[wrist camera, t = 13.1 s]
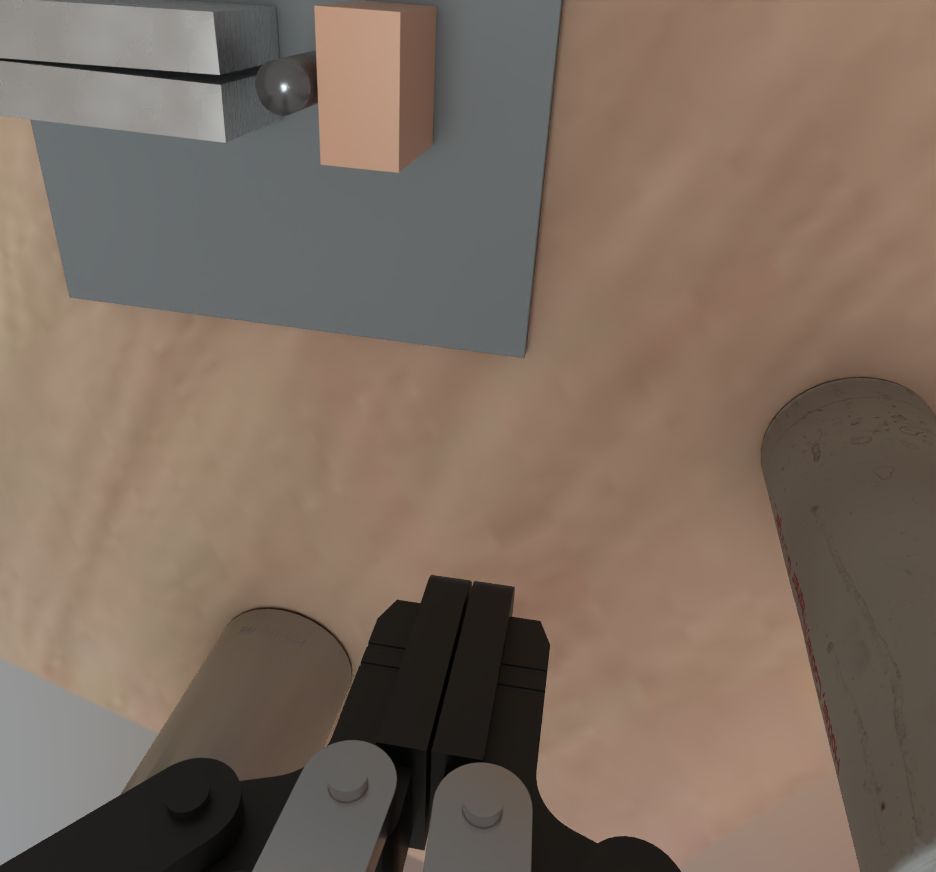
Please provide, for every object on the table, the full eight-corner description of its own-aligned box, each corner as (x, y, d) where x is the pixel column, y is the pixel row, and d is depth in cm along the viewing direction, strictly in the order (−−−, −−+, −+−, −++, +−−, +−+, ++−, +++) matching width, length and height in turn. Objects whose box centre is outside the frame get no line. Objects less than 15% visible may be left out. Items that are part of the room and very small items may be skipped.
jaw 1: (275, 6, 32) (213, 11, 27) (279, 60, 33) (219, 74, 28) (-1, -12, 33) (-105, -9, 29) (11, 40, 34) (-87, 51, 30)
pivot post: (358, 47, 32) (302, 61, 27) (358, 94, 33) (305, 118, 28) (316, 43, 32) (253, 57, 27) (318, 91, 33) (257, 113, 28)
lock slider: (436, 6, 31) (400, 12, 26) (432, 144, 33) (398, 172, 29) (363, 0, 31) (314, 5, 26) (364, 138, 34) (320, 164, 29)
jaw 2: (280, 69, 33) (221, 84, 28) (282, 119, 34) (225, 142, 29) (11, 40, 34) (-87, 51, 30) (21, 89, 35) (-72, 107, 31)
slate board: (526, 351, 38) (524, 358, 38) (79, 292, 41) (69, 297, 41) (579, -157, 28) (577, -161, 27) (-23, -184, 31) (-38, -188, 30)
